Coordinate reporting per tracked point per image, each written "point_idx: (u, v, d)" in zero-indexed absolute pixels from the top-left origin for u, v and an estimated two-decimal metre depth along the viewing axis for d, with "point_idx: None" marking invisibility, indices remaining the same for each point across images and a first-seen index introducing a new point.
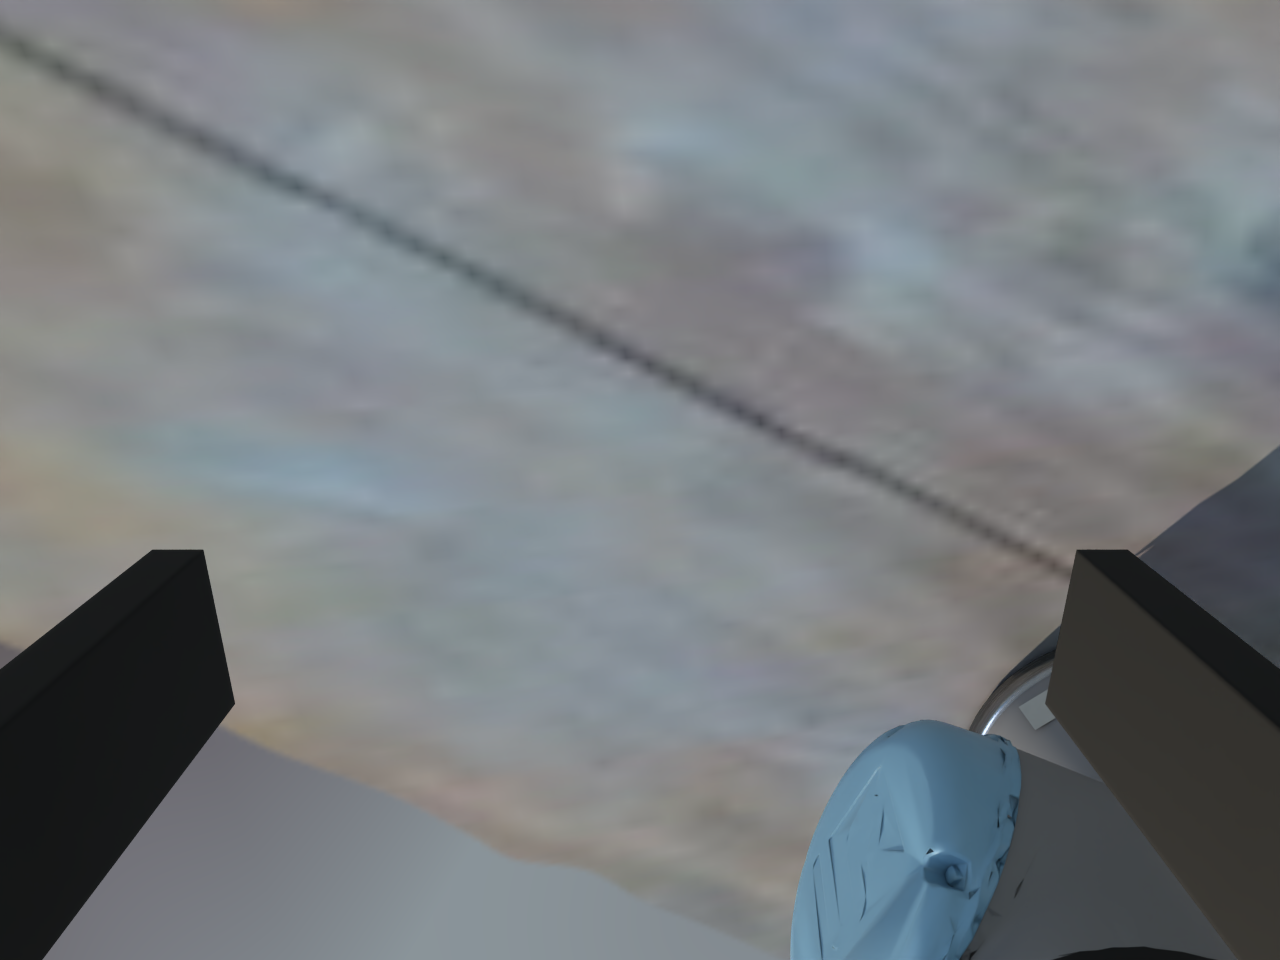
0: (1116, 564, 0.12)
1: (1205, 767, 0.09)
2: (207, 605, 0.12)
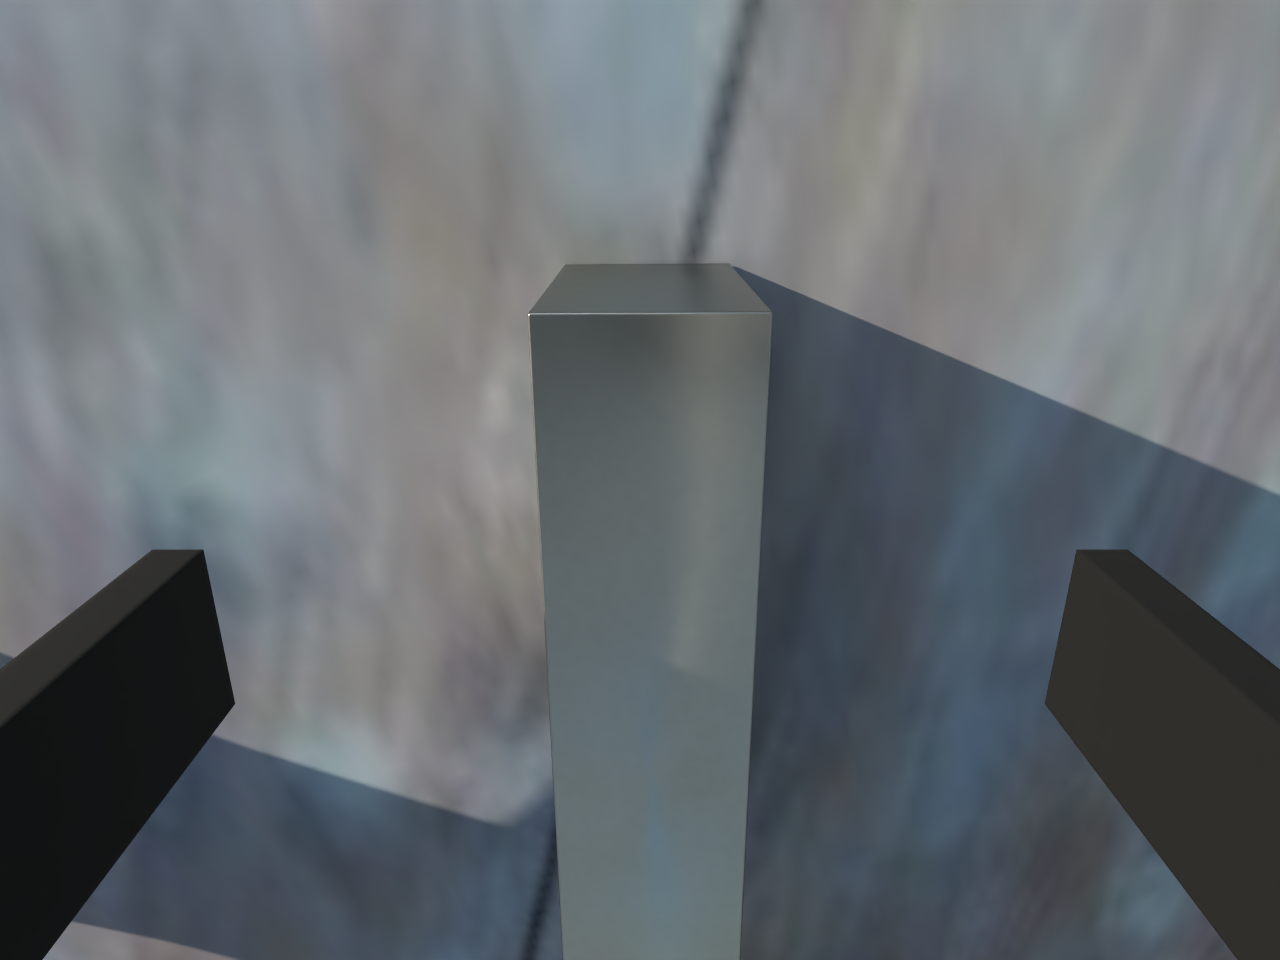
0: (1116, 564, 0.12)
1: (1205, 767, 0.09)
2: (207, 605, 0.12)
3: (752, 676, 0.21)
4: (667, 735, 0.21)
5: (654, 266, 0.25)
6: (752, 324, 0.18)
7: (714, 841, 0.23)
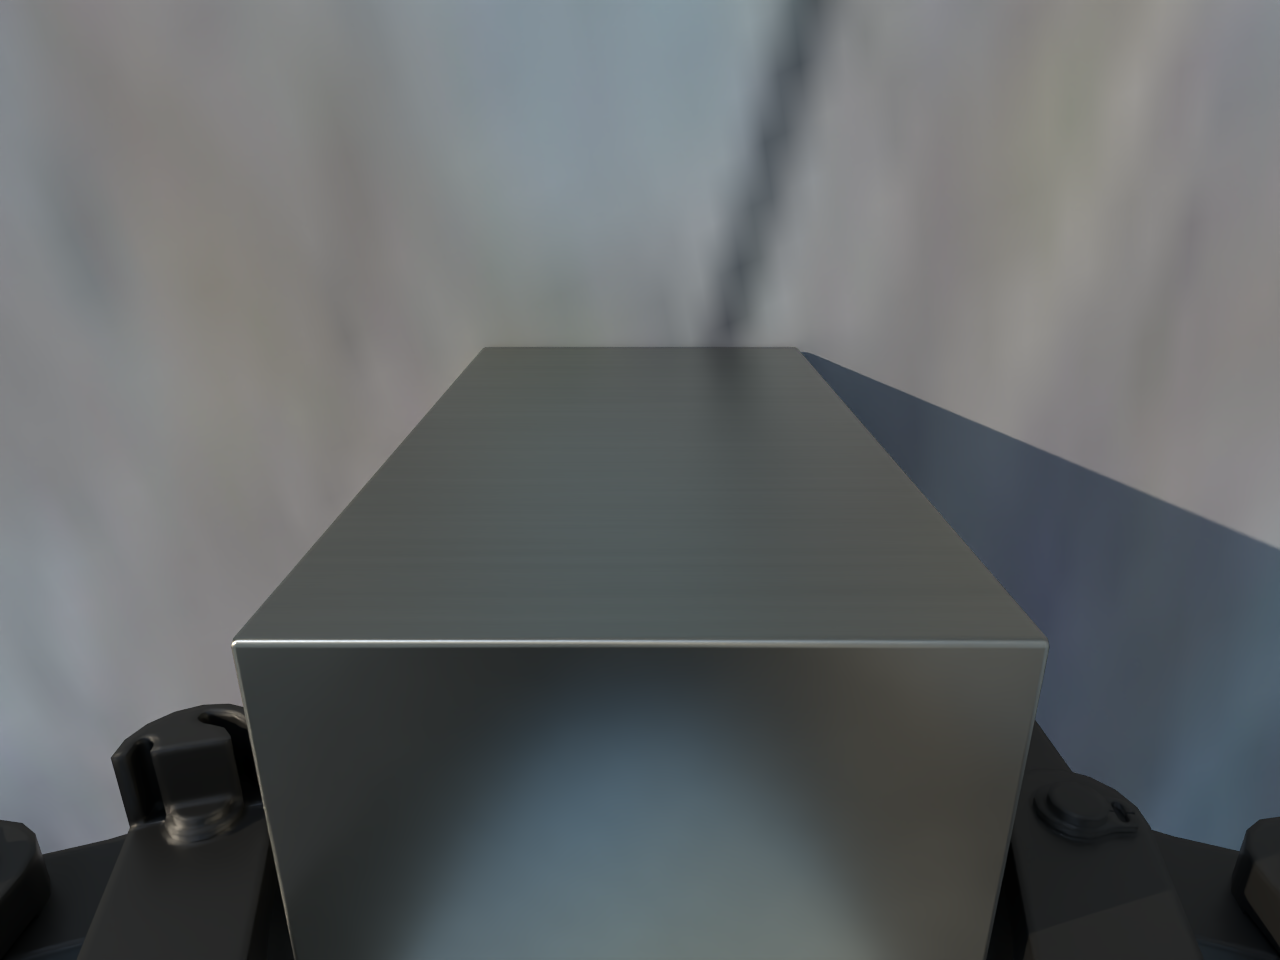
0: None
1: None
2: None
3: None
4: None
5: (653, 356, 0.13)
6: (979, 679, 0.05)
7: None
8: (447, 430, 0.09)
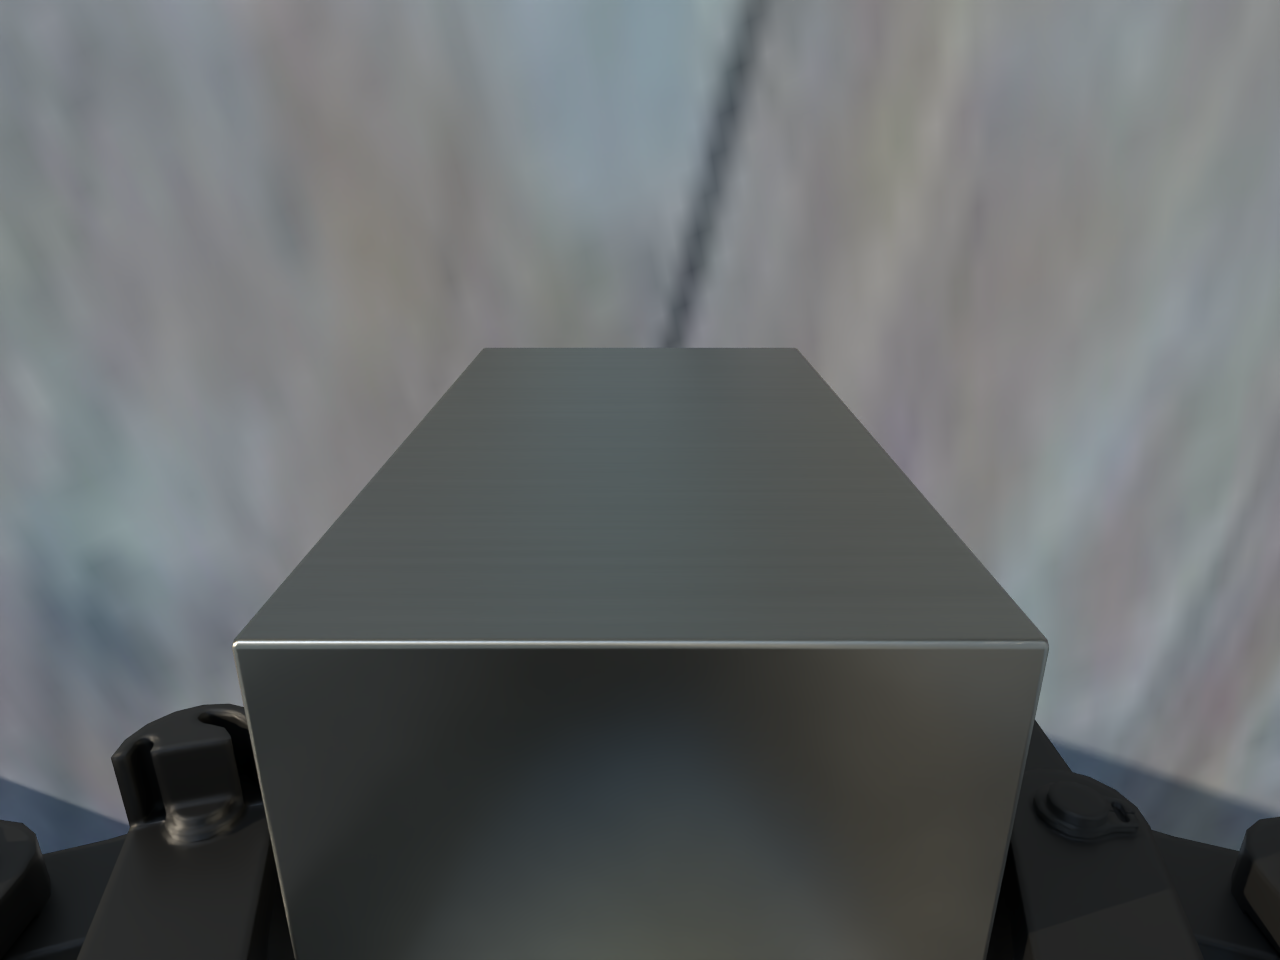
0: None
1: None
2: None
3: None
4: None
5: (654, 356, 0.13)
6: (979, 680, 0.05)
7: None
8: (448, 431, 0.09)
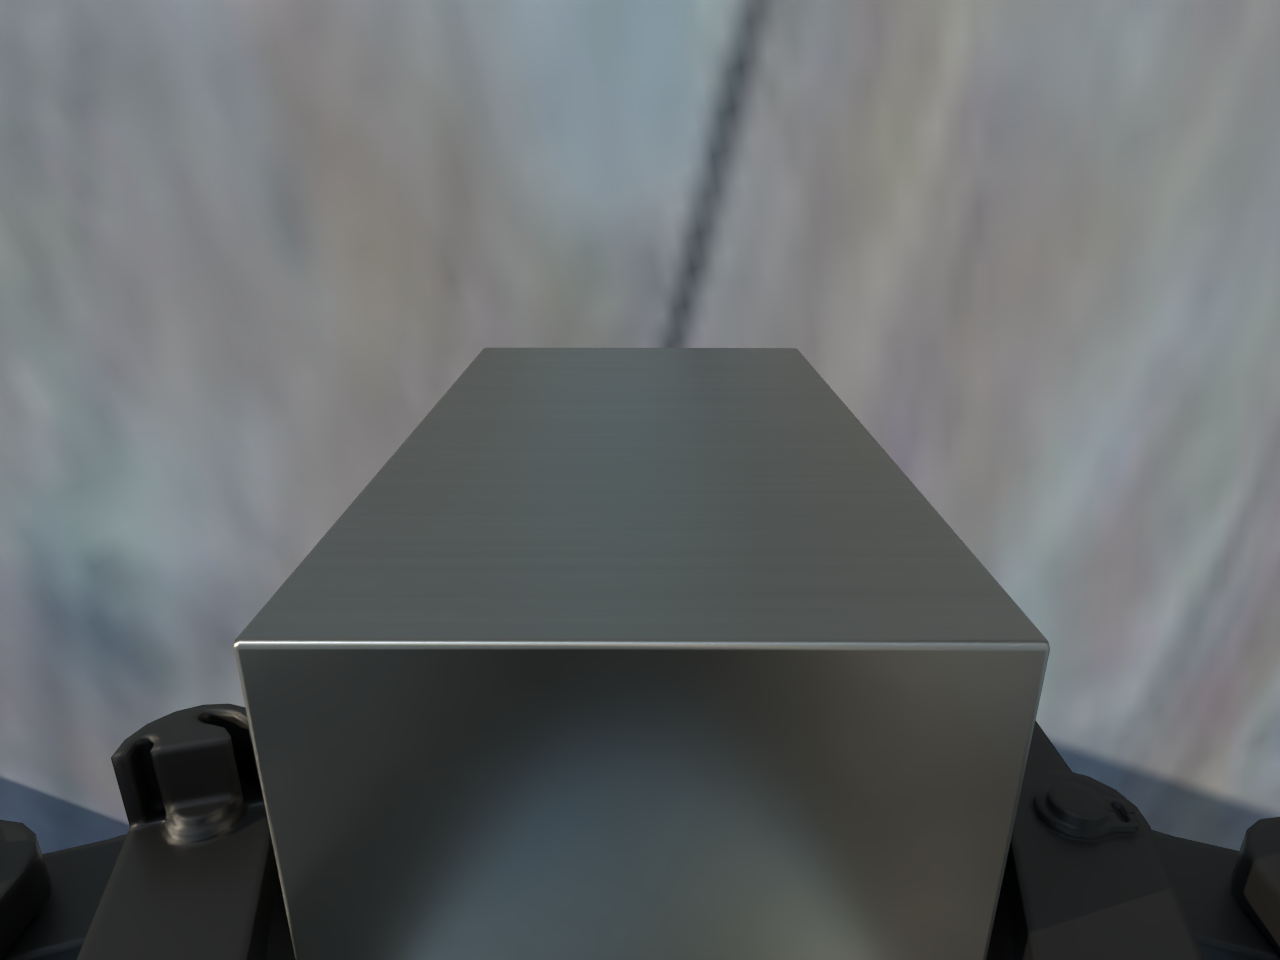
0: None
1: None
2: None
3: None
4: None
5: (654, 356, 0.13)
6: (980, 682, 0.05)
7: None
8: (448, 431, 0.09)
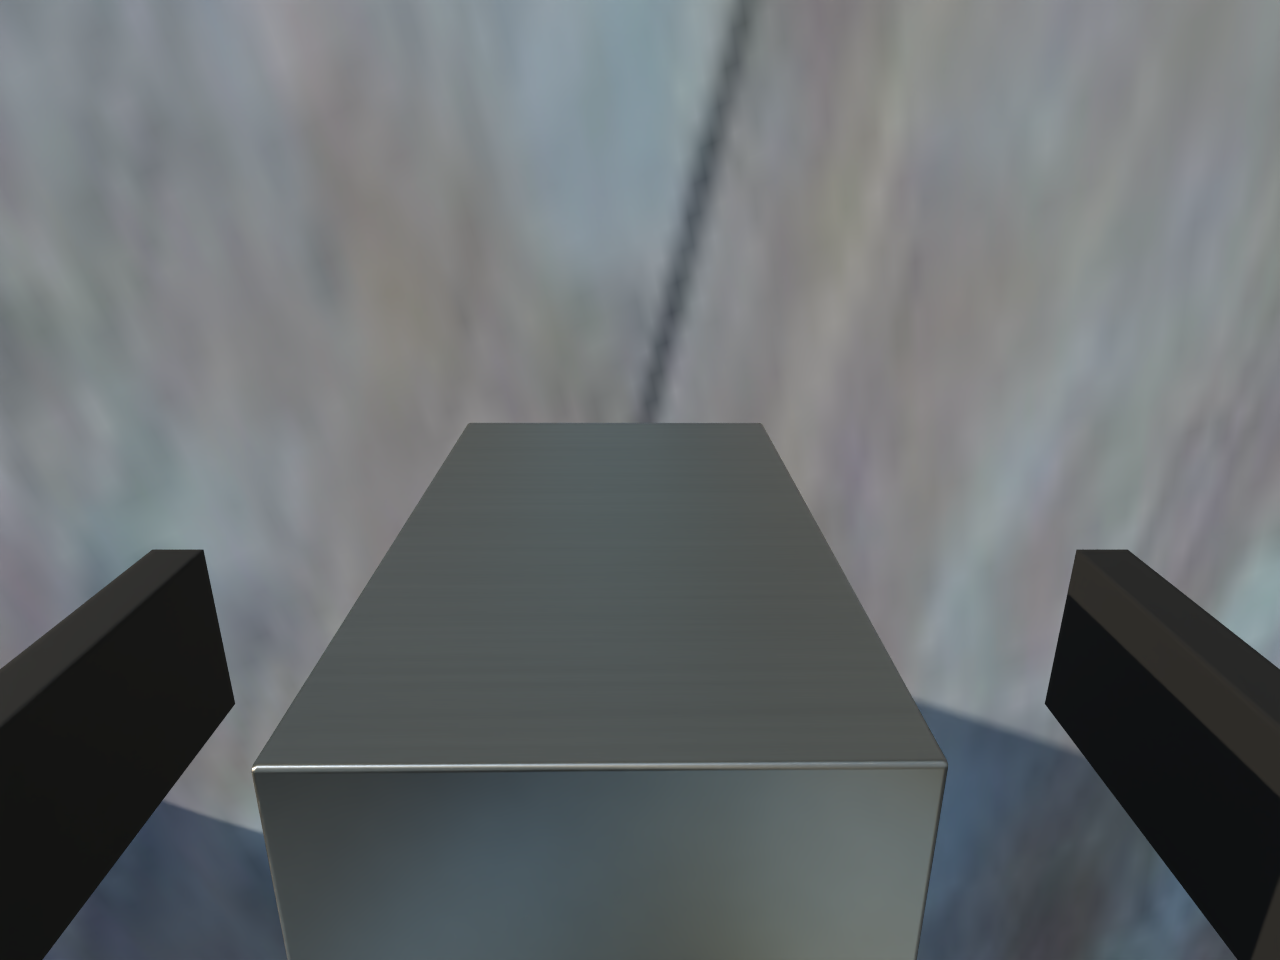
0: (1116, 564, 0.12)
1: (1205, 767, 0.09)
2: (207, 605, 0.12)
3: None
4: None
5: (628, 434, 0.14)
6: (890, 794, 0.06)
7: None
8: (435, 527, 0.10)
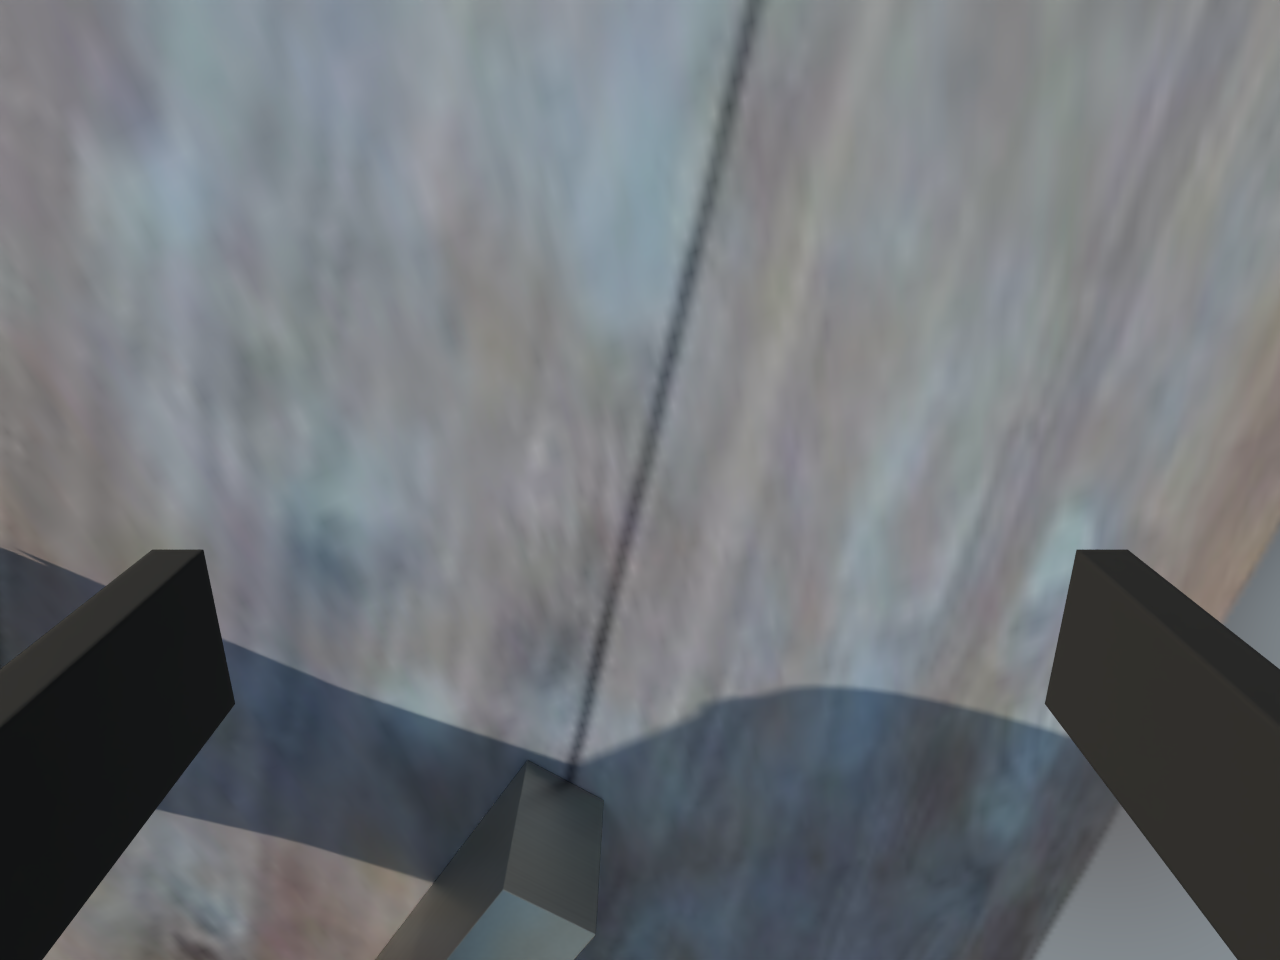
0: (1116, 564, 0.12)
1: (1205, 767, 0.09)
2: (207, 605, 0.12)
3: None
4: None
5: (568, 790, 0.47)
6: (585, 934, 0.40)
7: None
8: (523, 823, 0.43)
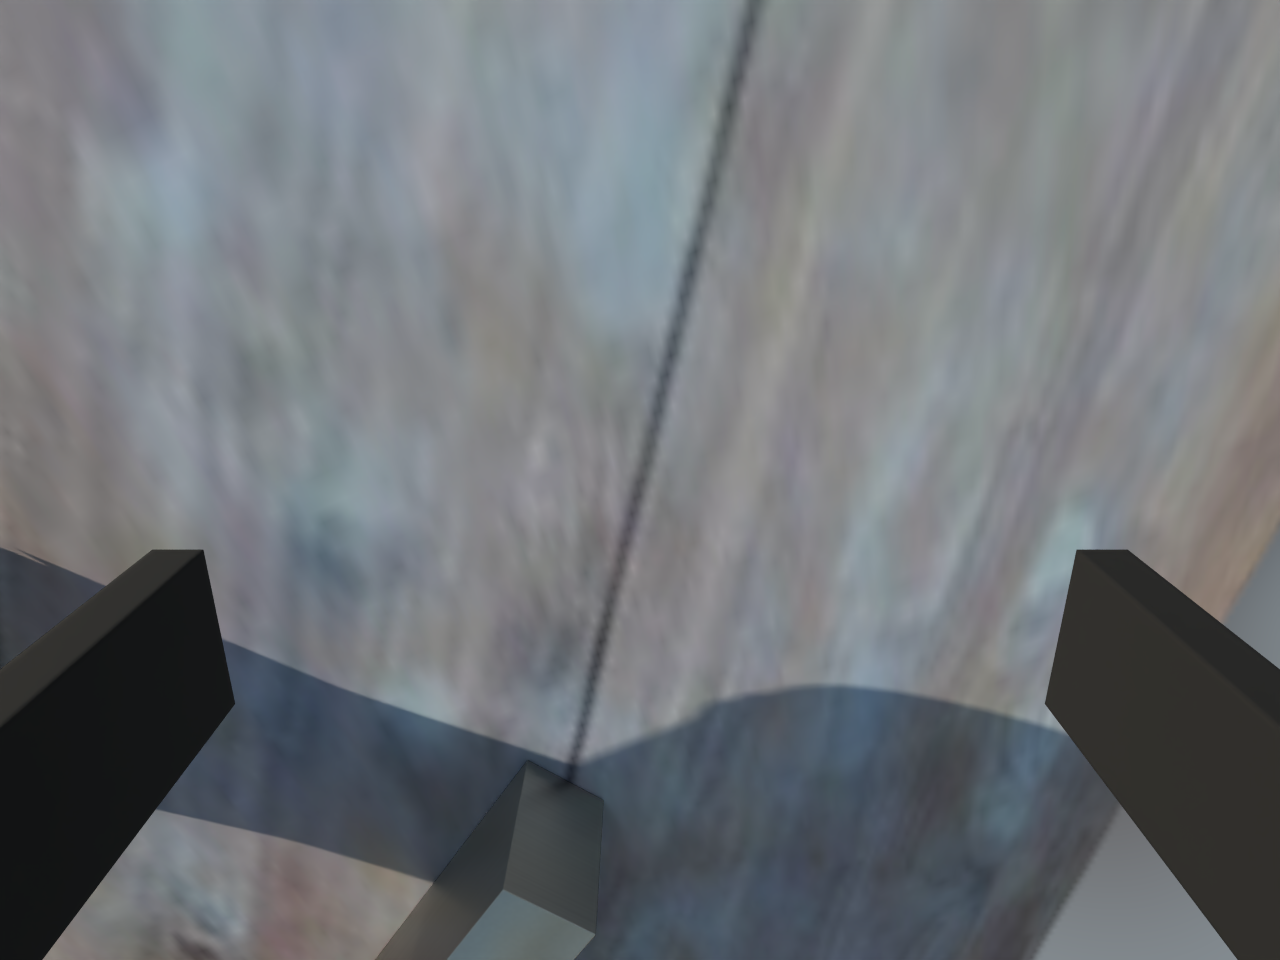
0: (1116, 564, 0.12)
1: (1205, 767, 0.09)
2: (207, 605, 0.12)
3: None
4: None
5: (568, 790, 0.47)
6: (585, 935, 0.40)
7: None
8: (523, 823, 0.43)
